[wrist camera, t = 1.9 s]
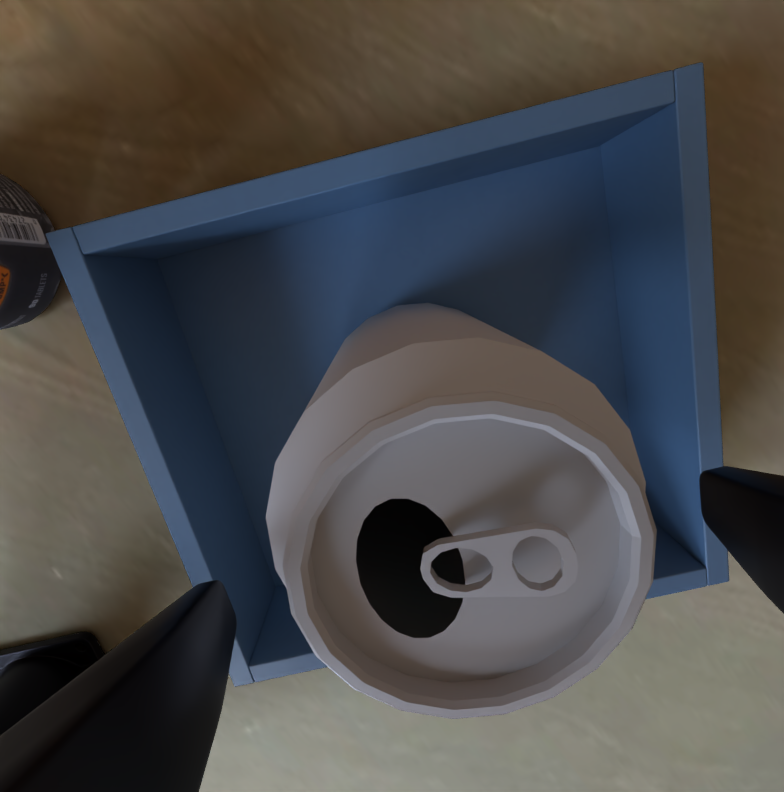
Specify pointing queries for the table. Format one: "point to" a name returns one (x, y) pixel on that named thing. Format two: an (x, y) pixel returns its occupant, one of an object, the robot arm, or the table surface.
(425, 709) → the can
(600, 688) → the table surface
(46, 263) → the pill bottle
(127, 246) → the tub
